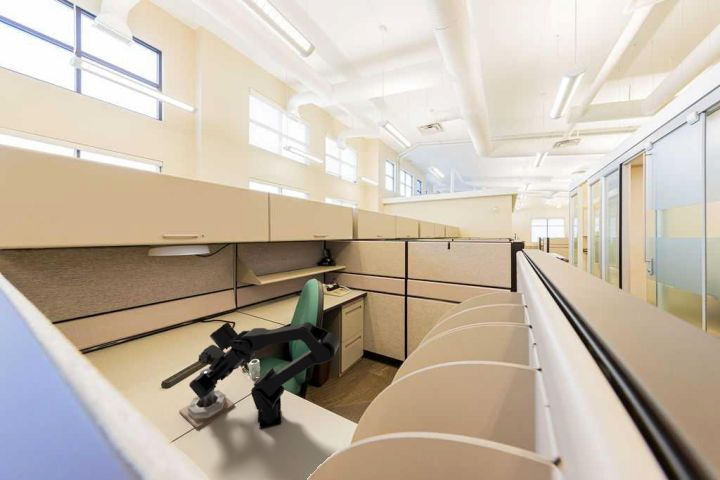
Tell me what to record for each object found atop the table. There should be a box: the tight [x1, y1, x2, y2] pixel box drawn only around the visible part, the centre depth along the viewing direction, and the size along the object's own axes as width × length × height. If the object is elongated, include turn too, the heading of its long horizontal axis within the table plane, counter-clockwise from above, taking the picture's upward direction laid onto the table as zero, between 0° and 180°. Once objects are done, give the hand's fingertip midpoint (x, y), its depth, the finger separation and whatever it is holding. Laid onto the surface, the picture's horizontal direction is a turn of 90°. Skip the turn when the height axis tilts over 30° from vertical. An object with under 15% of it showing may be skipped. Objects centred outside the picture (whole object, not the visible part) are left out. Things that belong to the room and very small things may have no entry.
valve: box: [239, 358, 261, 380], centre depth 107 cm, size 7×7×12 cm
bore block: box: [178, 390, 236, 430], centre depth 86 cm, size 12×12×3 cm
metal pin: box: [199, 367, 215, 408], centre depth 85 cm, size 4×4×12 cm
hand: (203, 386), depth 86 cm, fingers closed on metal pin, 4 cm apart
